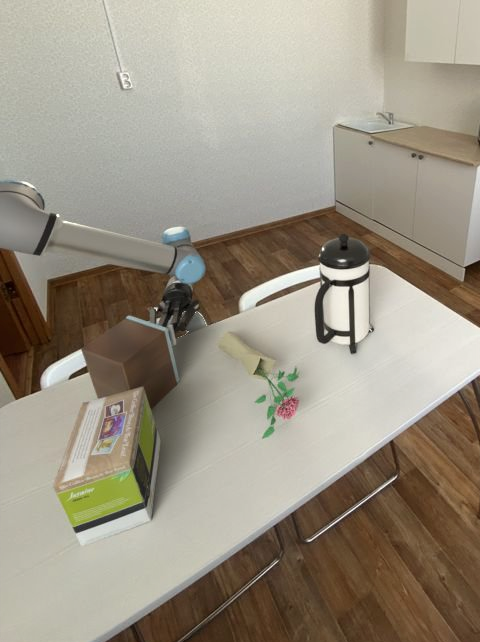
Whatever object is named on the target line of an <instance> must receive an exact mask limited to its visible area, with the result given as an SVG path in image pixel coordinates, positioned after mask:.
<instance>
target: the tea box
mask: <svg viewBox="0 0 480 642" xmlns="http://www.w3.org/2000/svg"><path fill="white" fill-rule="evenodd" d="M161 443H162V442H161V437H160V434H159V431H158V428H157V425H156V422H155V419H154V415H153V412H152V409H150V406H149V403H148V400H147V396H146V393H145V390H144V387H139V388H136V389H132V390H129V391H125V392H122V393H118V394H114V395H111V396H107V397H104V398H100V399H98V398H96V399H93V400H89V401H86V402H85V401H84V402H82V404H81V407H80V409H79V412H78V413H77V417H76V420H75V423H74V425H73V428H72V431H71V434H70V437H69V440H68V443H67V446H66V448H65V450H64V453H63V457H62V459H61V461H60V464H59V468H58V470H57V474H56V476H55V480H54V482H53V485H52V488H53V490H54V493H55V495H56V496H57V499H58V501H59V503H60V505H61V506H62V509H63V511H64V513H65V515H66V517H67V519H68V521H69V524H70V526H71V528H72V530H73V531H74V534H75V536H76V538H77V540H78V542H79V544H80V546H81V547H84V546H87V545H90V544H93V543H95V542H98V541H101V540H104V539H106V538H110V537H112V536H116V535H117V534H120V533H123V532H126V531H128V530H131V529H134V528H136V527H139V526H141V525H144V524H147V523H149V522H151V521H152V516H153V507H154V499H155V492H156V484H157V475H158V467H159V460H160V451H161Z"/></svg>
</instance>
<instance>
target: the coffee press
mask: <svg viewBox="0 0 480 642" xmlns="http://www.w3.org/2000/svg"><path fill="white" fill-rule="evenodd" d="M317 259H318V262H319V284H320V287H319V289H318V291H317V293H316V296H315V299H314V324H315V336H316V340H317V342H319V343H320V344H322V345H327V344H328V343H329V342H330V341H331V342H333V343H334V344H338V345H342V346H348V347H349V352H350V354H351V355H354V354H355V355H356V354H357V346H356V344H357V343H360V342H361V341H362V340H364V339H365V338H366V337H367V335H368V333H374V331H375V327H374V326H373V324H372V323H371V305H370V304H371V303H370V302H371V298H370V297H371V296H370V295H371V294H370V292H371V291H370V273H371V267H370V259H371V250H370V249H369V247H368V246H367V245H366V244H365V242H363V241H361V240H360V239H357V238H355V237H350V236H348V234H346V233H341V234H339V237H335V238H333V239H330V240H328V241H327V242H325V243H324V244H323V245H322V246H321V248H320V250H319V251H318V253H317ZM370 327H371V328H370ZM369 329H371V330H372V332H370V330H369Z"/></svg>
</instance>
